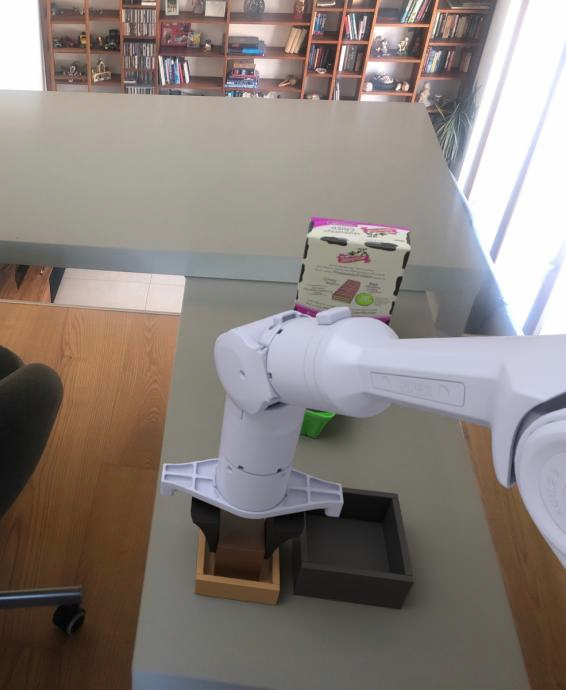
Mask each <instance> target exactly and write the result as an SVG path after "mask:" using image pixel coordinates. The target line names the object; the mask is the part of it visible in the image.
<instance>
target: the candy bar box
mask: <svg viewBox="0 0 566 690" xmlns="http://www.w3.org/2000/svg"><path fill="white" fill-rule="evenodd" d="M410 234H411V228H410V227H404V226H403V227H402V226H393V225H388V224H387V225H385V224H378V223H369V222H363V221H362V222H361V221H353V220H343V219H335V218H326V217H319V216H310V219H309V224H308V228H307V232H306V237H305V242H304V249H303V254H302V259H301V266H300V271H299V277H298V282H297V288H296V293H295V299H294V302H293V303H294V304H293V309H292V310H294V311H298V312H300V313H302V314H306V315H309V316H311V317H316V315H317V313H319V312H322V311H325V310H328V309H331V308H334V307H349V309H350V312H351V317H369V318H374V319H377V320H380V321H382V322H383V323H385V324H386V325H388V326H389V325H390V321H391V318H392V315H393V312H394V308H395V304H396V301H397V298H398V295H399V292H400V288H401V285H402V282H403V279H404V274H405V270H406V268H407V266H408V265H407V264H408V261H409V259H410V255H411V254H410V253H411V250H412V248H411V240H410V239H411V237H410ZM389 327H390V326H389Z"/></svg>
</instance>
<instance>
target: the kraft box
mask: <svg viewBox="0 0 566 690" xmlns="http://www.w3.org/2000/svg"><path fill="white" fill-rule="evenodd" d="M198 528H199V527H198ZM214 555H215V553H213V552H209V547H208V543H207V540H206V538H205V535H204V534H203V532H202V530H201V529H200V528H199V529H198V542H197V555H196V568H195V580H194V592H193V593H194V594H195V595H199V596H207V597H213V598H214V597H215V598H220V599H221V598H222V599H227V600H236V601H243V602H251V603H257V604H264V605H271V606H277V604H278V599H279V597H280V591H281V585H280V584H281V579H280V573H281V572H280V546H279V547H278V548H277V549H276V550H275V551H274V552H273V554H272V555H271V556H270V558H269V559H268V560H266V559H263V563H262V568H261V572H260V577H259V581H258V582H256V581H249V580H242V579H234V578H227V577H219V576H213V574H214Z"/></svg>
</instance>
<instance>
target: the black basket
mask: <svg viewBox="0 0 566 690" xmlns="http://www.w3.org/2000/svg"><path fill="white" fill-rule="evenodd" d="M342 494H343V506H342V509H341V512H340V515H339V517H333V516H327V515H326V514H325V509H320V508H319V509H313V510H307V511H305V513H304V517H305V526H304V530H303V532H302V534H301V535H300V537H295V538H292V539H290V544H291V545H290V546H291V568H292V569H291V570H292V571H291V573H292V594H293V596H300V597H308V598H314V599H315V598H316V599H322V600H323V599H324V600H330V601H337V602H344V603H352V604H357V605H358V604H359V605H365V606H374V607H381V608H388V609H394V610H401V609H402V607H403V606H404V603H405V601H406V599H407V598H408V595H409V593H410V591H411V589H412V587H413V585H414V584H415V579H414V574H413V569H412V563H411V559H410V553H409V547H408V542H407V536H406V531H405V526H404V520H403V515H402V514H403V513H402V509H401V503H400V499H399V494H398V493H395V492H387V491H386V492H385V491H380V490H379V491H378V490H371V489H361V488H352V487H343V486H342Z"/></svg>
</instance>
